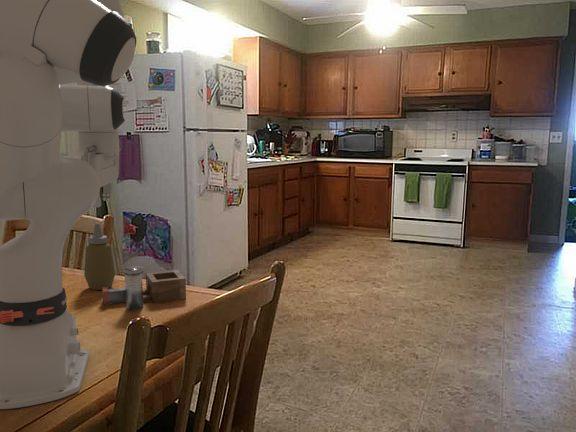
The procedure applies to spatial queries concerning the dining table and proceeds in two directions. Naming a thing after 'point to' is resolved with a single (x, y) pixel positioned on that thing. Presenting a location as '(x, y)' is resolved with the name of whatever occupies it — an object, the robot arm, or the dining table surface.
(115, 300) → the grey rectangular block
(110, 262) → the squeeze bottle
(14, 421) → the dining table surface
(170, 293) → the box
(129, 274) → the grey cylindrical piece
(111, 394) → the dining table surface
